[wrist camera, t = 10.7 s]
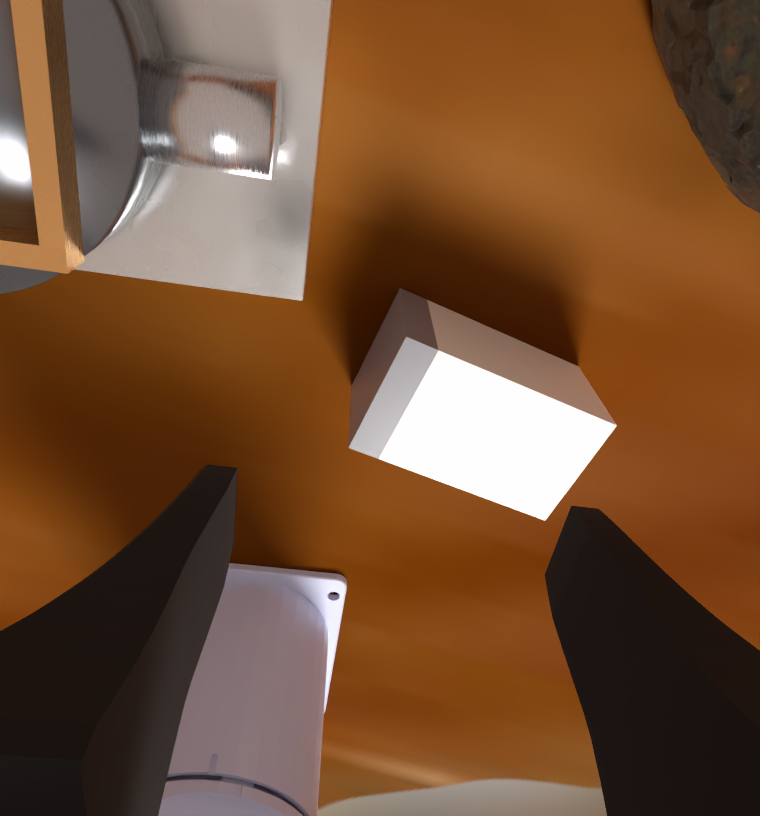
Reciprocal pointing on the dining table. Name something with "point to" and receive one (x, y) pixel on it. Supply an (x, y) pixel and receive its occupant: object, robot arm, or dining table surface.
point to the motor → (161, 140)
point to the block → (474, 408)
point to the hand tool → (717, 81)
